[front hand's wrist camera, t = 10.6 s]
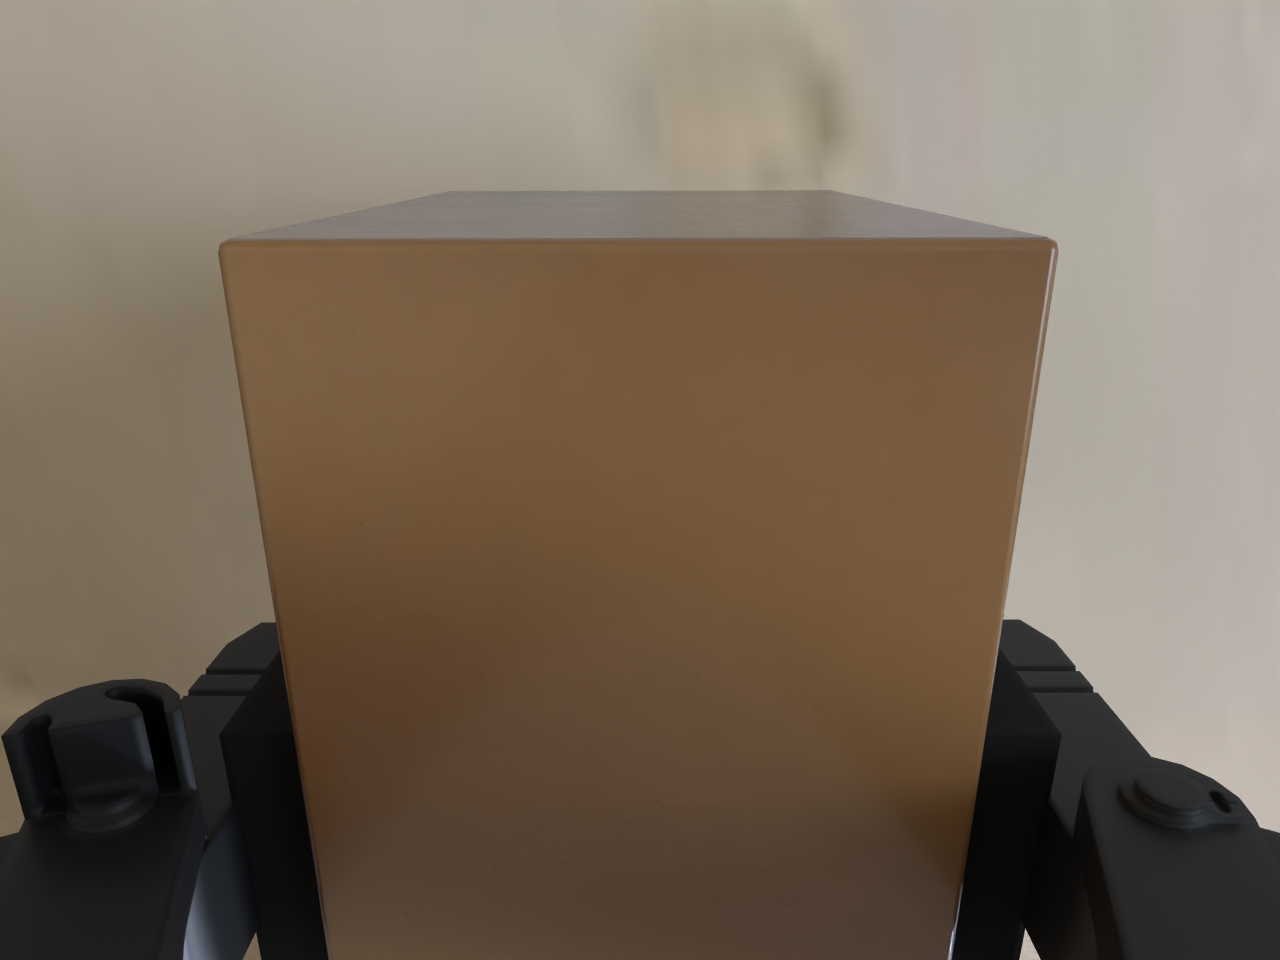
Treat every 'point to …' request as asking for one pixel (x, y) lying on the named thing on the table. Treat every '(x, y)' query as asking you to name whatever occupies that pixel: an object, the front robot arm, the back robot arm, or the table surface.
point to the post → (639, 562)
